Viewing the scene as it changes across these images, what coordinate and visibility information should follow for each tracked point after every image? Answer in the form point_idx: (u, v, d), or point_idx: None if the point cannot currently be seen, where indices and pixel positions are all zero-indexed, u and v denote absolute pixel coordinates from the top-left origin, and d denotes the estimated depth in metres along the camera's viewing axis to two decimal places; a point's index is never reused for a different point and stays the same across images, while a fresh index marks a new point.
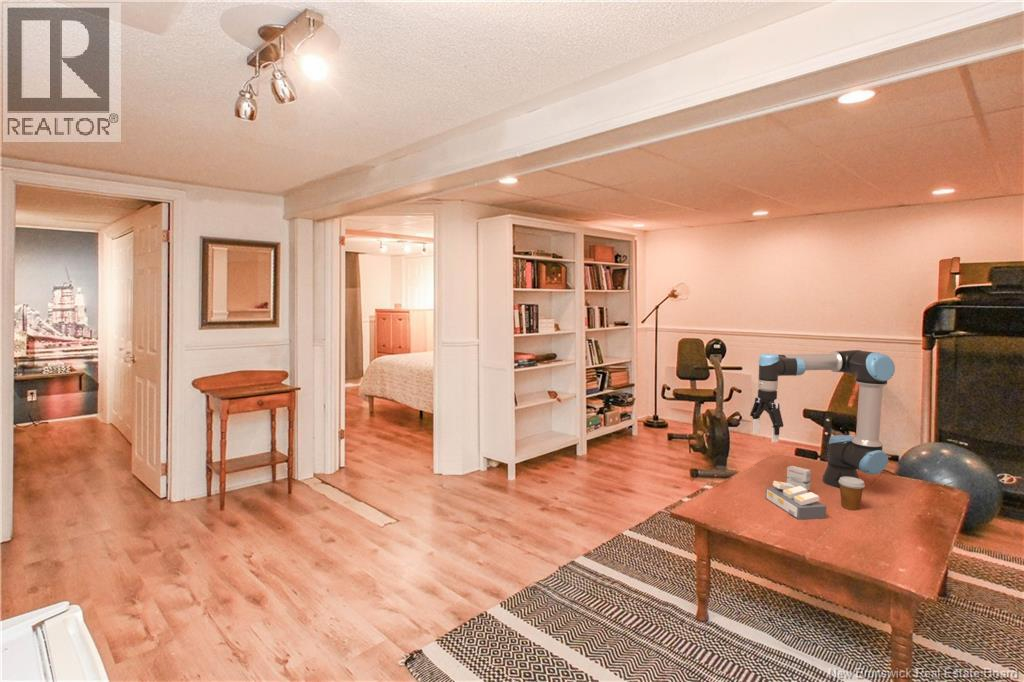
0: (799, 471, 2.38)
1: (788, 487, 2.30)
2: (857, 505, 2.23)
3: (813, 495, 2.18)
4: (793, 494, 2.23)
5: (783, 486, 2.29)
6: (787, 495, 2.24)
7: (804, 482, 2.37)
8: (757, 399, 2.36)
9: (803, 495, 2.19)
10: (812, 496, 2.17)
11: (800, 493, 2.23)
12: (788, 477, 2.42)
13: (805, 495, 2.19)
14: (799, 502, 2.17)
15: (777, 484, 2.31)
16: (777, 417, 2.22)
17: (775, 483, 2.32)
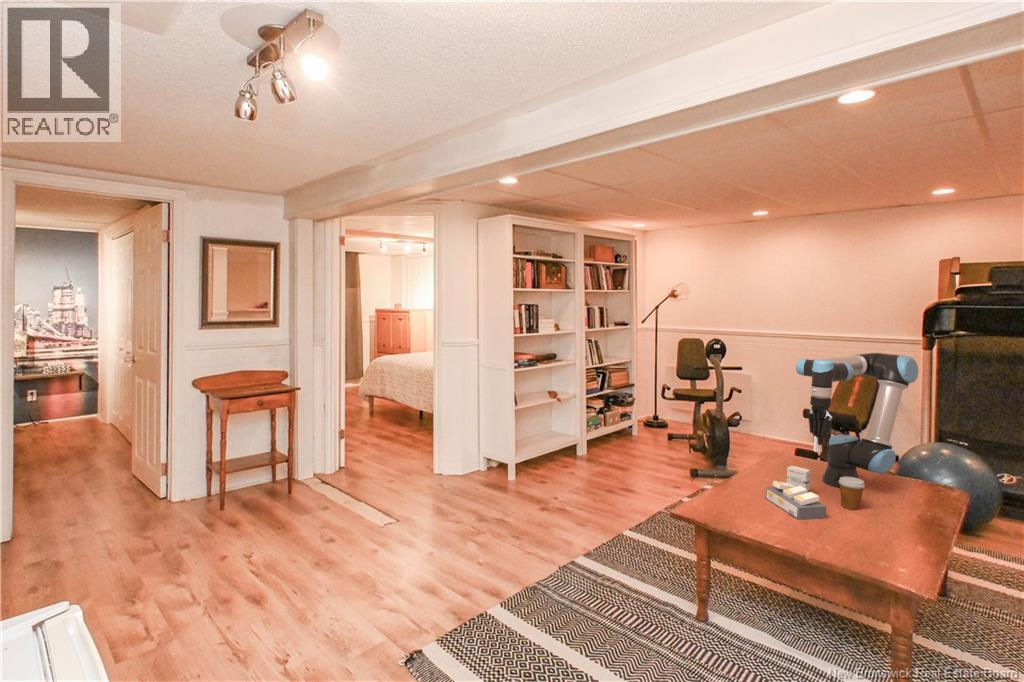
0: (799, 471, 2.38)
1: (788, 487, 2.30)
2: (857, 505, 2.23)
3: (813, 495, 2.18)
4: (793, 494, 2.23)
5: (783, 486, 2.29)
6: (787, 495, 2.24)
7: (804, 482, 2.37)
8: (809, 410, 2.29)
9: (803, 495, 2.19)
10: (812, 496, 2.17)
11: (800, 493, 2.23)
12: (788, 477, 2.42)
13: (805, 495, 2.19)
14: (799, 502, 2.17)
15: (777, 484, 2.31)
16: (825, 429, 2.20)
17: (775, 483, 2.32)
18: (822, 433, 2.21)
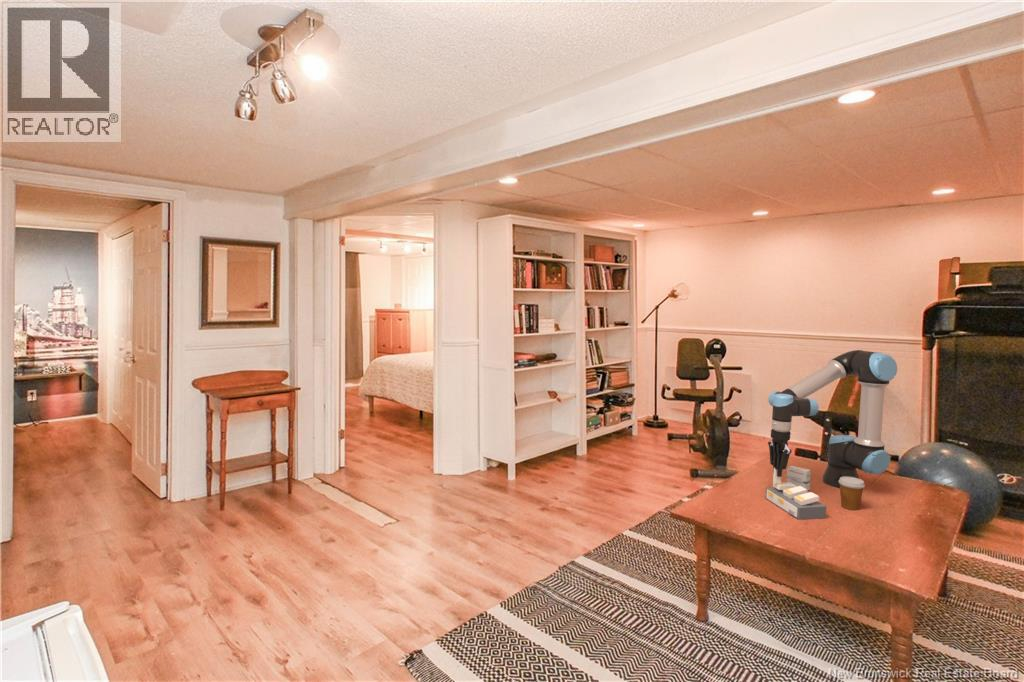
0: (799, 471, 2.38)
1: (788, 487, 2.30)
2: (857, 505, 2.23)
3: (813, 495, 2.18)
4: (793, 494, 2.23)
5: (783, 487, 2.29)
6: (787, 495, 2.24)
7: (804, 482, 2.37)
8: (770, 442, 2.35)
9: (803, 495, 2.19)
10: (812, 496, 2.17)
11: (800, 493, 2.23)
12: (788, 477, 2.42)
13: (805, 495, 2.19)
14: (799, 502, 2.17)
15: (777, 485, 2.31)
16: (783, 461, 2.26)
17: (775, 484, 2.32)
18: (781, 466, 2.27)
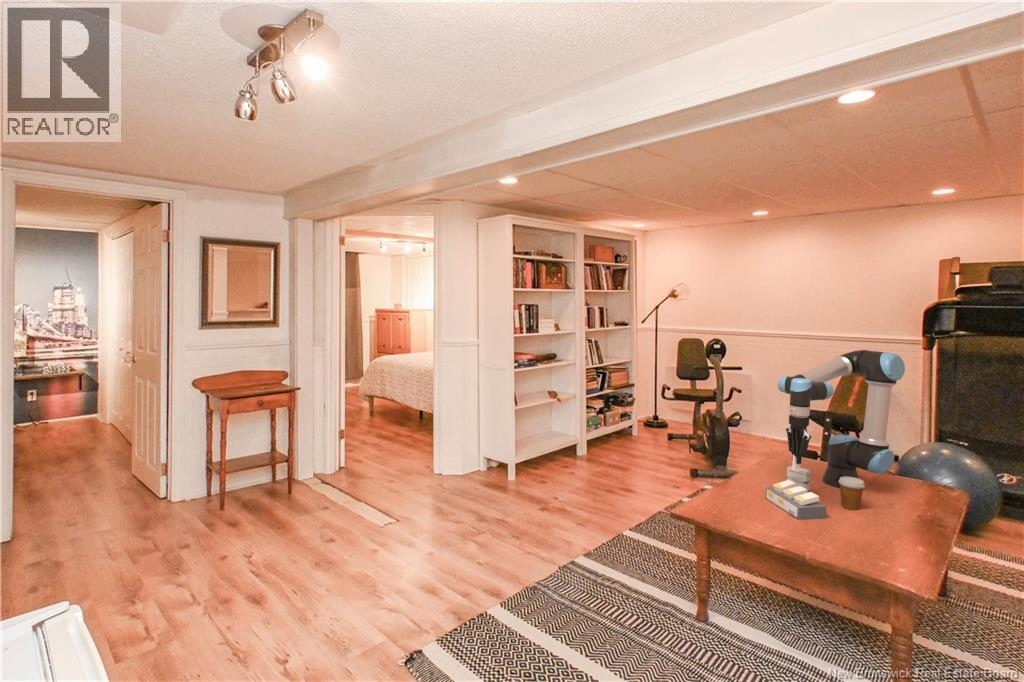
0: (799, 471, 2.38)
1: (788, 487, 2.30)
2: (857, 505, 2.23)
3: (813, 495, 2.18)
4: (793, 494, 2.23)
5: (783, 488, 2.30)
6: (787, 495, 2.24)
7: (804, 482, 2.37)
8: (788, 429, 2.28)
9: (803, 495, 2.19)
10: (812, 496, 2.17)
11: (800, 493, 2.23)
12: (788, 477, 2.42)
13: (805, 495, 2.19)
14: (799, 502, 2.17)
15: (777, 488, 2.31)
16: (803, 448, 2.19)
17: (775, 487, 2.32)
18: (800, 452, 2.20)
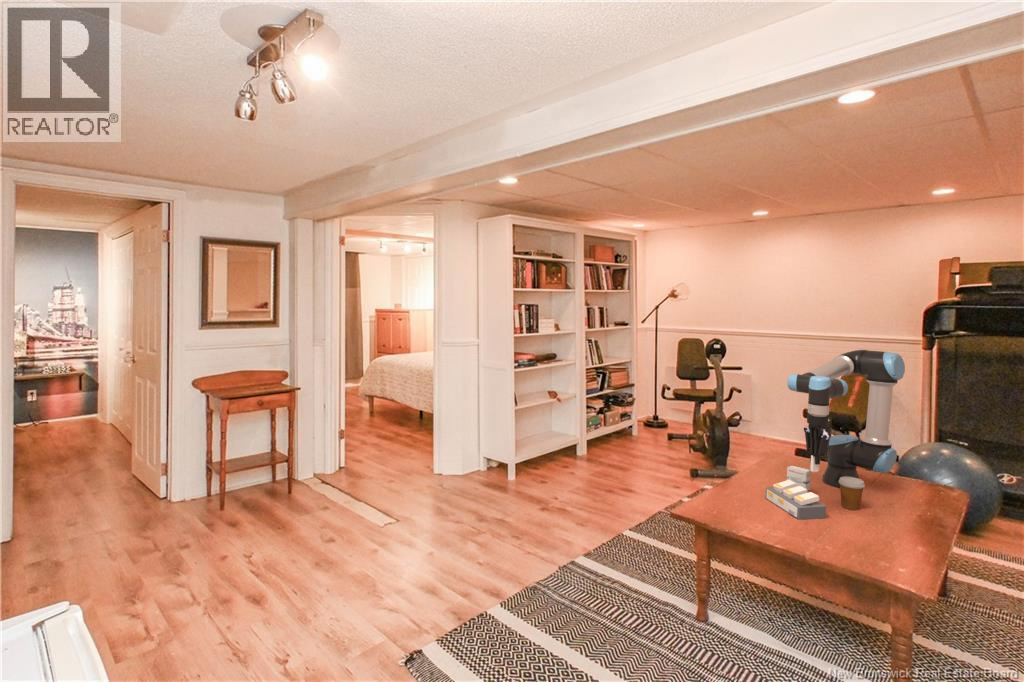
0: (799, 471, 2.38)
1: (788, 487, 2.30)
2: (857, 505, 2.23)
3: (813, 495, 2.18)
4: (793, 494, 2.23)
5: (783, 488, 2.30)
6: (787, 495, 2.24)
7: (804, 482, 2.37)
8: (806, 428, 2.21)
9: (803, 495, 2.19)
10: (812, 496, 2.17)
11: (800, 493, 2.23)
12: (788, 477, 2.42)
13: (805, 495, 2.19)
14: (799, 502, 2.17)
15: (777, 488, 2.31)
16: (822, 448, 2.12)
17: (775, 487, 2.32)
18: (819, 452, 2.13)
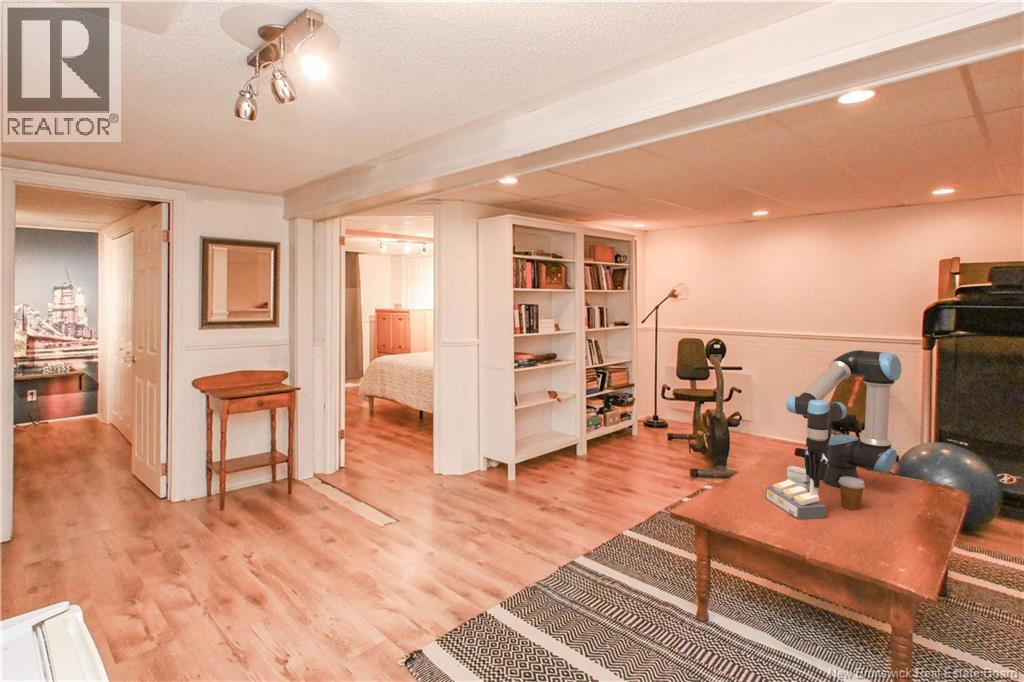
0: (799, 471, 2.38)
1: (788, 487, 2.30)
2: (857, 505, 2.23)
3: (814, 495, 2.18)
4: (793, 494, 2.23)
5: (783, 488, 2.30)
6: (787, 495, 2.24)
7: (804, 482, 2.37)
8: (805, 451, 2.22)
9: (803, 495, 2.19)
10: (812, 496, 2.17)
11: (800, 493, 2.23)
12: (788, 477, 2.42)
13: (805, 495, 2.19)
14: (799, 502, 2.17)
15: (777, 488, 2.31)
16: (821, 472, 2.13)
17: (775, 487, 2.32)
18: (818, 476, 2.14)
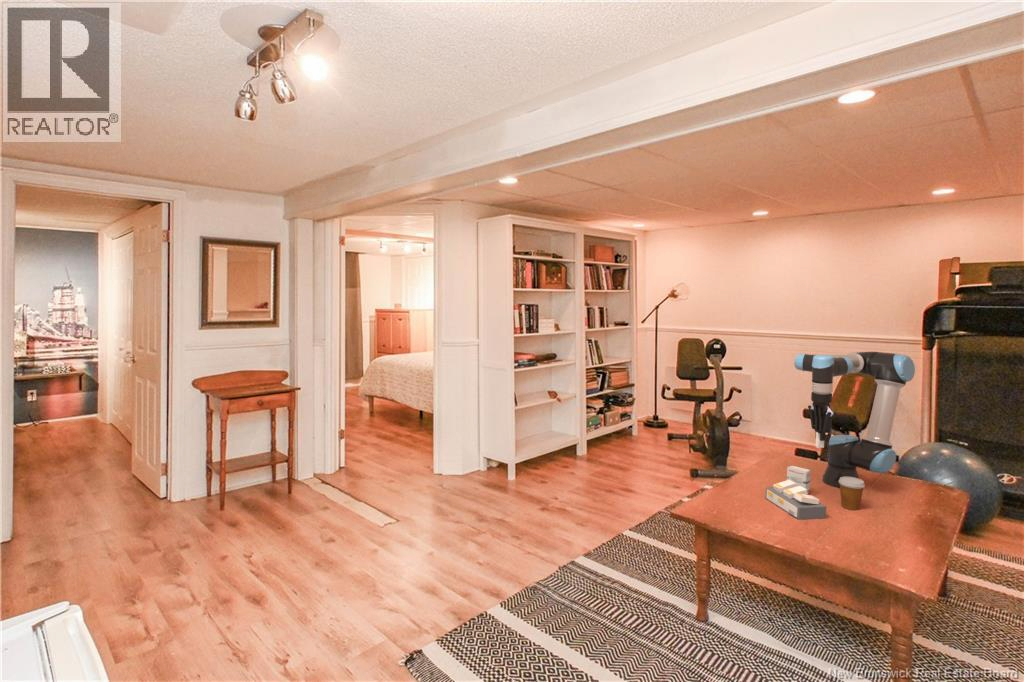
0: (799, 471, 2.38)
1: (788, 487, 2.30)
2: (857, 505, 2.23)
3: (814, 498, 2.18)
4: (793, 494, 2.23)
5: (783, 488, 2.30)
6: (787, 495, 2.24)
7: (804, 482, 2.37)
8: (810, 406, 2.27)
9: (804, 495, 2.19)
10: (813, 498, 2.17)
11: (800, 493, 2.23)
12: (788, 477, 2.42)
13: (806, 495, 2.19)
14: (799, 498, 2.17)
15: (777, 488, 2.31)
16: (827, 425, 2.18)
17: (775, 487, 2.32)
18: (824, 429, 2.19)
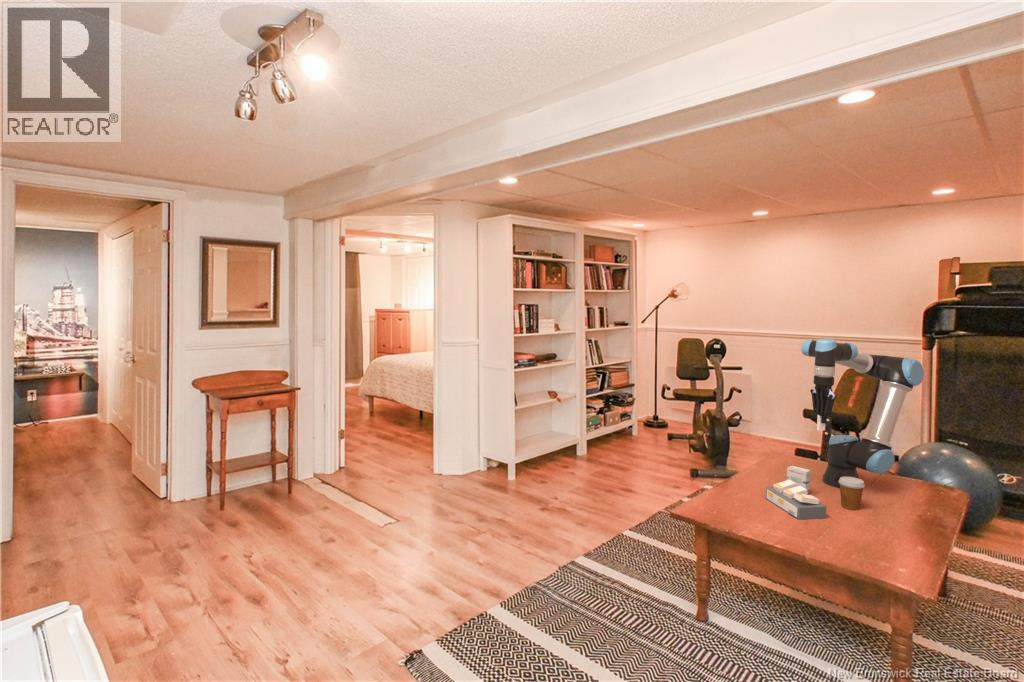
0: (799, 471, 2.38)
1: (788, 487, 2.30)
2: (857, 505, 2.23)
3: (814, 497, 2.18)
4: (793, 494, 2.23)
5: (783, 488, 2.30)
6: (787, 495, 2.24)
7: (804, 482, 2.37)
8: (812, 390, 2.31)
9: (804, 495, 2.19)
10: (813, 498, 2.17)
11: (800, 493, 2.23)
12: (788, 477, 2.42)
13: (806, 495, 2.19)
14: (799, 498, 2.17)
15: (777, 488, 2.31)
16: (828, 407, 2.22)
17: (775, 487, 2.32)
18: (825, 412, 2.23)
